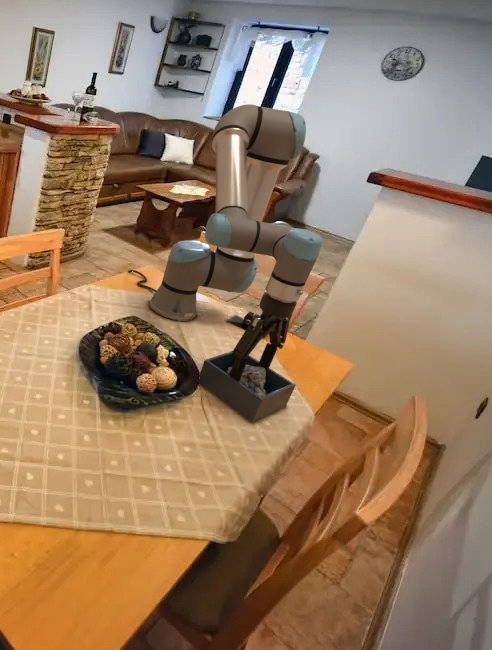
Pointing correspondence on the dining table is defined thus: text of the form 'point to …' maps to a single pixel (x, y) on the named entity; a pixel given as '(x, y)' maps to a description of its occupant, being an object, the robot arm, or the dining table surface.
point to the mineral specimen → (253, 379)
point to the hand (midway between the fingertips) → (249, 372)
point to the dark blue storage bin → (240, 395)
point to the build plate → (243, 320)
